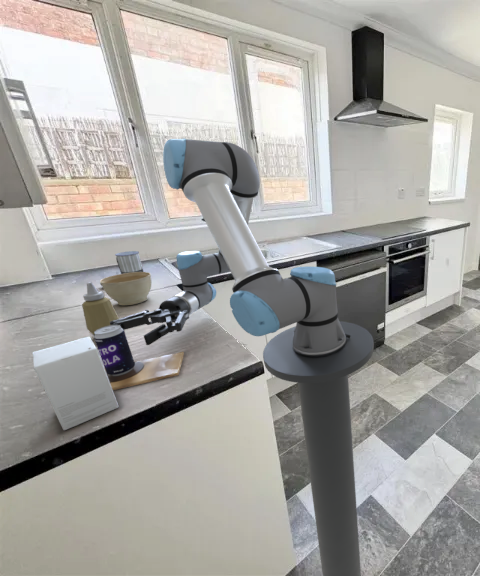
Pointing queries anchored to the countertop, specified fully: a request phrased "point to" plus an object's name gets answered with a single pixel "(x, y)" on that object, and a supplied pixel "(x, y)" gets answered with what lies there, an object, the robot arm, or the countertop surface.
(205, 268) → the robot arm
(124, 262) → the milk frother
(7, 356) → the countertop surface
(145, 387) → the countertop surface
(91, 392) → the rectangular carton
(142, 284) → the planter bowl
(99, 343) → the beverage can
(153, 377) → the board
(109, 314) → the squeeze bottle
